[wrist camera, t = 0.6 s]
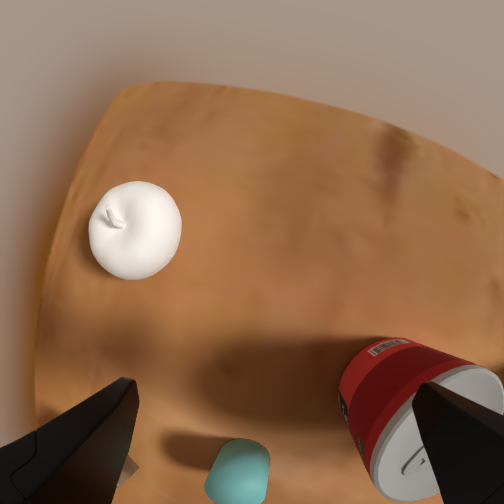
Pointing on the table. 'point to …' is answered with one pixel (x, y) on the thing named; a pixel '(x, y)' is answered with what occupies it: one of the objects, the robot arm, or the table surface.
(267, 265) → the table surface
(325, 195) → the table surface
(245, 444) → the teal cylinder
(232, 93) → the table surface
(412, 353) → the canned food
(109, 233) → the plain white apple
